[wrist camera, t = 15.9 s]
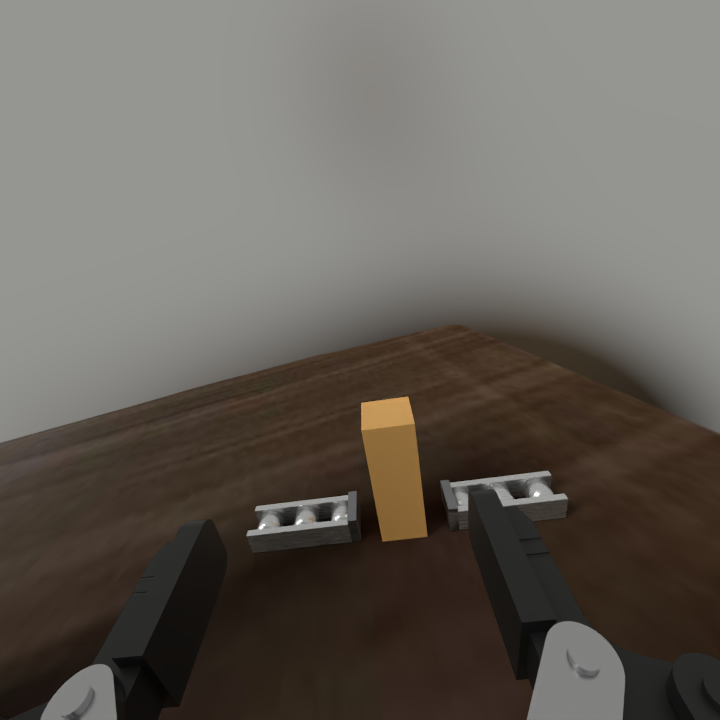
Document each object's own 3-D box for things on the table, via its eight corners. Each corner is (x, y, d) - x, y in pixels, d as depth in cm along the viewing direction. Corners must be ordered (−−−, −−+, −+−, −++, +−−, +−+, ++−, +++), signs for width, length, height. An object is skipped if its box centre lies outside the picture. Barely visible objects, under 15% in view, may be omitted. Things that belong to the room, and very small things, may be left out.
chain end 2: (450, 530, 31) (448, 509, 30) (441, 501, 34) (440, 480, 33) (565, 517, 31) (568, 495, 30) (546, 488, 34) (548, 467, 33)
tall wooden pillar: (382, 541, 31) (361, 430, 26) (379, 501, 35) (361, 399, 31) (427, 536, 31) (414, 423, 26) (419, 496, 35) (407, 393, 30)
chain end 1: (253, 553, 32) (245, 533, 31) (262, 522, 35) (255, 503, 34) (360, 540, 32) (356, 520, 31) (360, 510, 35) (356, 490, 34)
